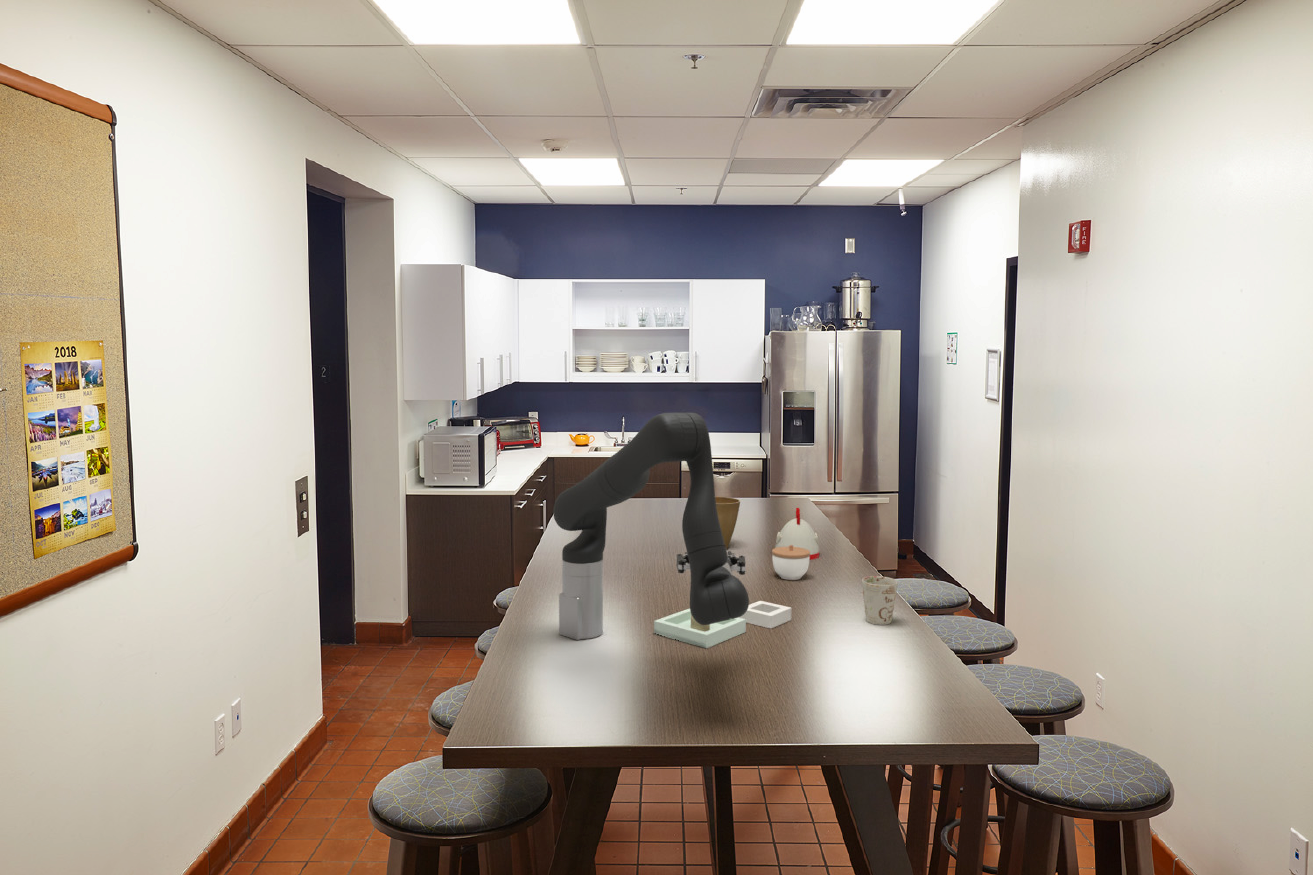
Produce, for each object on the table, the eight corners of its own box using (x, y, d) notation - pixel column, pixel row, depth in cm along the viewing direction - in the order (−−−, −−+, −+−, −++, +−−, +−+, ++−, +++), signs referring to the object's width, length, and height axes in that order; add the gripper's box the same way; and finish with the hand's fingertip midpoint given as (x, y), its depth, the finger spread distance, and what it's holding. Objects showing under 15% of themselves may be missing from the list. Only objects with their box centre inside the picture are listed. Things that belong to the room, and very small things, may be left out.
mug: (871, 627, 208) (873, 586, 207) (846, 612, 220) (847, 572, 219) (903, 625, 210) (904, 583, 209) (876, 609, 222) (877, 570, 221)
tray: (706, 648, 193) (706, 634, 192) (654, 633, 202) (654, 620, 202) (745, 631, 204) (745, 619, 204) (694, 618, 214) (694, 606, 213)
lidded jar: (766, 579, 251) (766, 546, 250) (779, 570, 261) (779, 539, 260) (802, 583, 246) (803, 550, 245) (814, 575, 256) (815, 543, 255)
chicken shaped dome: (817, 551, 287) (818, 505, 286) (820, 561, 273) (822, 513, 272) (774, 549, 288) (775, 504, 287) (775, 559, 275) (776, 512, 273)
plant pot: (740, 553, 283) (741, 503, 281) (694, 552, 283) (695, 503, 281) (737, 543, 297) (738, 496, 296) (693, 542, 298) (694, 495, 296)
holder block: (770, 628, 207) (771, 616, 206) (739, 620, 212) (739, 608, 212) (791, 619, 214) (791, 607, 213) (760, 612, 219) (760, 600, 219)
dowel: (702, 632, 200) (703, 567, 198) (686, 628, 203) (688, 564, 201) (713, 628, 203) (715, 564, 202) (698, 624, 206) (699, 561, 205)
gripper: (750, 558, 174) (742, 538, 190) (678, 556, 174) (676, 537, 190) (749, 595, 175) (741, 572, 191) (676, 593, 175) (675, 571, 191)
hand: (709, 555), depth 190 cm, fingers open, 8 cm apart
